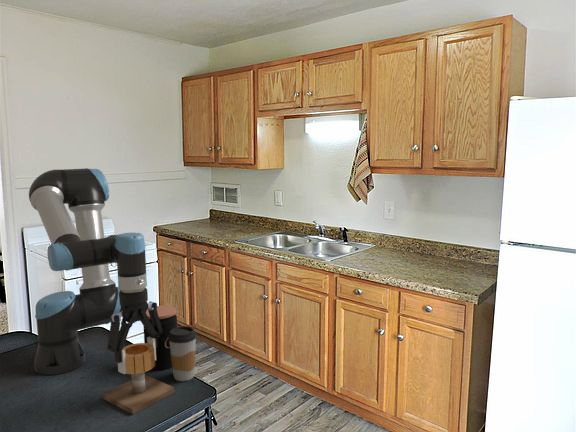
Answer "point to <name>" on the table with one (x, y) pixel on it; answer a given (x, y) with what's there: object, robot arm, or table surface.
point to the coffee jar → (163, 336)
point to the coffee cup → (183, 352)
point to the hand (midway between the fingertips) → (137, 365)
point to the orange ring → (139, 358)
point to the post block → (138, 393)
